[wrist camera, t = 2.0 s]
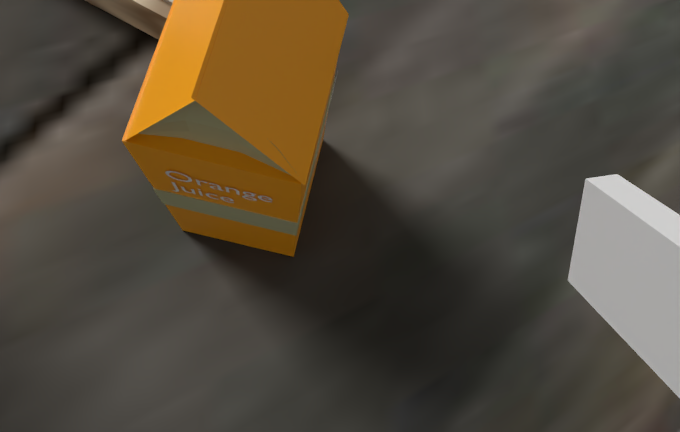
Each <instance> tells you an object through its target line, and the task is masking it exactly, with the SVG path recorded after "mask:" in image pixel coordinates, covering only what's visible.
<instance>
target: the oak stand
mask: <svg viewBox="0 0 680 432" xmlns="http://www.w3.org/2000/svg"><path fill="white" fill-rule="evenodd" d="M85 1H87V2H89V3H91V4H92V5H94V6H96V7H98V8H100V9H102V10H104V11H106V12H108V13H109V14H111V15H113V16H115V17H117V18H119V19H121V20H123V21H124V22H126V23H128V24H130V25H132V26H134V27H136V28H138V29H140V30H141V31H143V32H145V33H147V34H149V35H151V36H153V37H155V38H156V39H158V40H159V38H160V36H161V33H162V30H163V28H164V25H165V22H166V19H167V17H168V14H169V11H170V9H171V6H172V3H173V0H85Z"/></svg>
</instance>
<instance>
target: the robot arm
mask: <svg viewBox="0 0 680 432" xmlns="http://www.w3.org/2000/svg"><path fill="white" fill-rule="evenodd" d="M568 281H569V282H570V283H571V284H572V286H573V287H574V288H575V289H576V290H577V291H578V292H579V293H580V294H581V295H582V296H583V297H584V298H585V299H586V300H587V301H588V302H589V303H590V304H591V305H592V307H593V308H594V309H595V310H596V311H597V312H598V313H599V314H600V315H601V316H602V317H603V318H604V319H605V320H606V321H607V322H608V323H609V324H610V325H611V327H612V328H613V329H614V330H615V331H616V332H617V333H618V334H619V335H620V336H621V337H622V338H623V339H624V340H625V341H626V342H627V343H628V344H629V345H630V346H631V348H632V349H633V350H634V351H635V352H636V353H637V354H638V355H639V356H640V357H641V358H642V359H643V360H644V361H645V362H646V363H647V364H648V365H649V366H650V368H651V369H652V370H653V371H654V372H655V373H656V374H657V375H658V376H659V377H660V378H661V379H662V380H663V381H664V382H665V383H666V384H667V385H668V386H669V387H670V389H671V390H672V391H673V392H674V393H675V394H676V395H677V396H678V397H679V398H680V215H679V214H677V213H676V212H674V211H673V210H671V209H670V208H668V207H667V206H665V205H664V204H662V203H660V202H659V201H657V200H656V199H654V198H653V197H651V196H650V195H648V194H647V193H645V192H644V191H642V190H641V189H639V188H638V187H636V186H635V185H633V184H631V183H630V182H628V181H627V180H625V179H624V178H622V177H621V176H619V175H618V174H615V175H608V176H601V177H594V178H588V179H585V185H584V190H583V196H582V202H581V208H580V213H579V219H578V225H577V230H576V236H575V242H574V247H573V253H572V259H571V265H570V270H569V276H568Z"/></svg>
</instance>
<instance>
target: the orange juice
mask: <svg viewBox="0 0 680 432" xmlns="http://www.w3.org/2000/svg"><path fill="white" fill-rule="evenodd" d="M348 15H349V14H348V13H347V11H346V10H345V8H344V7H343V6H342V4H341V3H340V1H339V0H173V3H172V6H171V9H170V11H169V14H168V17H167V19H166V22H165V25H164V28H163V30H162V33H161V36H160V38H159V41H158V44H157V47H156V49H155V52H154V55H153V57H152V60H151V63H150V65H149V68H148V71H147V74H146V76H145V79H144V82H143V84H142V87H141V90H140V93H139V95H138V98H137V101H136V103H135V106H134V109H133V112H132V114H131V117H130V120H129V122H128V125H127V128H126V131H125V133H124V136H123V139H122V142H123V143H124V145H125V146H126V148H127V149H128V151H129V152H130V154H131V155H132V157H133V158H134V159H135V161H136V162H137V164H138V165H139V167H140V168H141V170H142V171H143V173H144V174H145V176H146V177H147V179H148V180H149V182H150V183H151V184H152V186H153V187H154V188H153V189H154V191H155V192H156V194H157V195H158V197H159V198H160V200H161V201H162V203H163V204H165V205H166V207H167V208H168V210H169V211H170V212H171V214H172V215H173V217H174V218H175V220H176V221H177V223H178V224H179V226H180V227H181V229H182V230H183V231H187V232H192V233H196V234H200V235H204V236H208V237H213V238H217V239H221V240H225V241H229V242H233V243H238V244H242V245H246V246H250V247H254V248H259V249H263V250H267V251H271V252H275V253H280V254H284V255H288V256H292V257H294V254H295V250H296V246H297V242H298V238H299V234H300V230H301V226H302V222H303V218H304V214H305V210H306V206H307V202H308V198H309V194H310V190H311V186H312V182H313V178H314V174H315V170H316V166H317V162H318V158H319V154H320V150H321V146H322V142H323V137H324V132H325V126H326V121H327V115H328V109H329V105H330V101H331V98H332V97H331V96H332V94H333V92H332V91H333V90H334V89H333V85H334V80H335V77H334V76H335V70H336V64H337V59H338V54H339V51H340V47H341V43H342V39H343V35H344V31H345V27H346V23H347V19H348ZM337 73H338V72H337ZM336 78H337V76H336ZM335 82H336V80H335Z"/></svg>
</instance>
